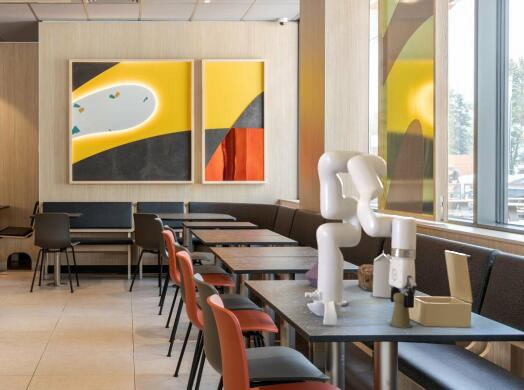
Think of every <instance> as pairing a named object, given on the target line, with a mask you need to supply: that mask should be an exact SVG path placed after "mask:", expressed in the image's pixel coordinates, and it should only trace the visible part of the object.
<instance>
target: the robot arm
mask: <svg viewBox="0 0 524 390" xmlns="http://www.w3.org/2000/svg"><path fill="white" fill-rule="evenodd" d="M387 169H388V168H387V163H386V160H384V159H383V158H382V157H381V156H379V155H377V154H376V155H375V154H371V153H367V152H363V151H355V150H353V151H352V150H330V151H326V152H324V153H322V154H321V156H320V157H319V160H318V163H317V174H318V179H319V200H320V201H319V206H320V208H319V209H320V214H321V216H322V218H324V219H325V220H342V222H326V223H322V224H321V225H319V226H318V227H317V229H316V233H315V234H316V235H315V236H316V242H317V258H318V287H316V288H317V289H315V290H314V291H312V292H308V291H307V292H304V298H309V299H312V303H315V302H318V301H326V302H331V301H334V302H336V303H337V304H339V305H341V307H342V306H346V305H347V300H345V299H343V292H344V290H343V289H344V265H345V264H344V262H345V261H344V256H343V253H342V251H341V249H340V248H354V247H356V246H357V245H359V243H360V241H361V238H362V229H363V231H364V232H365V233H366V235H368V236H370V237H371V238H391V248H390V250H391V251H390V252H391V253H390V254H391V255H390V256H391V263H390V271H389V284H390V285H391V287H390V289H391V298H390V302H391V303H395V302H394V299H393V296H394V294H395V293H402V291H401V290H402V289H403V293H405V295H404V305H403V307H405V308H413V307H414V296H416V289H417V283H416V262H415V260H416V258H417V257H416V255H417V253H416V252H417V251H416V250H417V219H415V217H411V216H410V217H408V216H399V215H393V214H392V215H391V214H390V215H389V214H375V211H374V209H373V206H372V204H371V203H372V201H374V200H375V199H377V198H378V197H380V196H381V195H382V194H383V192H384V185H383V184H382V181H381V180H380V178H383V177H384V176H385V175H386V173H387ZM338 173H343V174H349V176H350V178H351V180H352V182H353V184H354V186H355V189H356V191H357V193H358V195H359V199H358V198H357V197H355V196H354V195H344V185H343V184H344V183H343V181H342V179H341V178H340V176H339V175H338Z"/></svg>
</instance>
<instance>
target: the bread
mask: <svg viewBox="0 0 524 390" xmlns="http://www.w3.org/2000/svg"><path fill="white" fill-rule="evenodd" d="M373 272H374V264H369V263H367V264H361V265H360V266H359V267H358V269H357V282H358V285H359V286H360V287H361V288H362V289H364V290H365V291H369V292H373Z"/></svg>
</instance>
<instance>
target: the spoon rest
mask: <svg viewBox="0 0 524 390" xmlns="http://www.w3.org/2000/svg"><path fill="white" fill-rule="evenodd" d="M306 305H307V308H308V309H309V311H310V312H312V313H313V314H314V315H315V316H318V317H323V323H322V325H324V326H339V321H338V314H337V313H339V312H340V311H341V308H342V306H341V305H339V304H337V303H336V302H334V301H331V302H326V301H318V302H315V303H314V302H307V303H306Z"/></svg>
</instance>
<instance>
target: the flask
mask: <svg viewBox="0 0 524 390" xmlns="http://www.w3.org/2000/svg"><path fill="white" fill-rule="evenodd" d="M304 276H305V278H306V279H307V281H308V282H309V283H310V284H311V285H310V286H312V287H316V288H317V287H318V257H317V259H316V262H315V264H314V265H313V266H312V267H311V268H310V269H309V270H308V271H306V273H304Z"/></svg>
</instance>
